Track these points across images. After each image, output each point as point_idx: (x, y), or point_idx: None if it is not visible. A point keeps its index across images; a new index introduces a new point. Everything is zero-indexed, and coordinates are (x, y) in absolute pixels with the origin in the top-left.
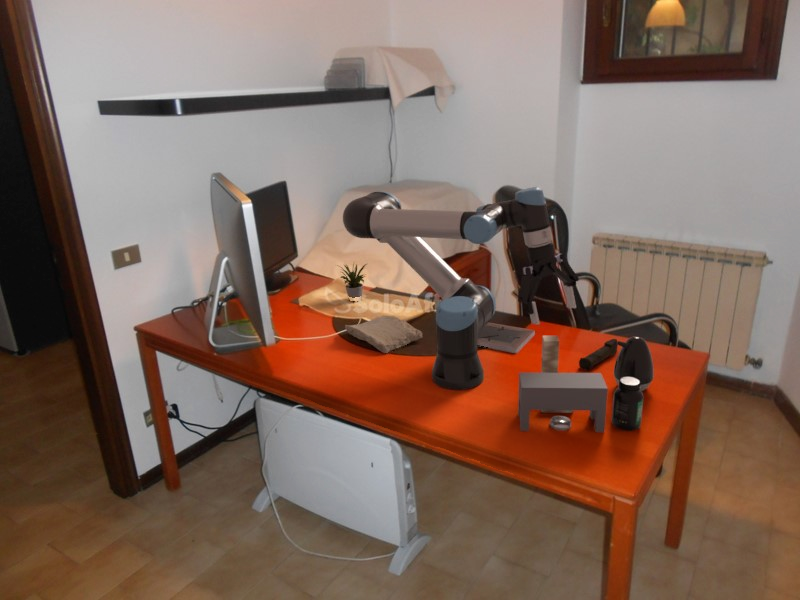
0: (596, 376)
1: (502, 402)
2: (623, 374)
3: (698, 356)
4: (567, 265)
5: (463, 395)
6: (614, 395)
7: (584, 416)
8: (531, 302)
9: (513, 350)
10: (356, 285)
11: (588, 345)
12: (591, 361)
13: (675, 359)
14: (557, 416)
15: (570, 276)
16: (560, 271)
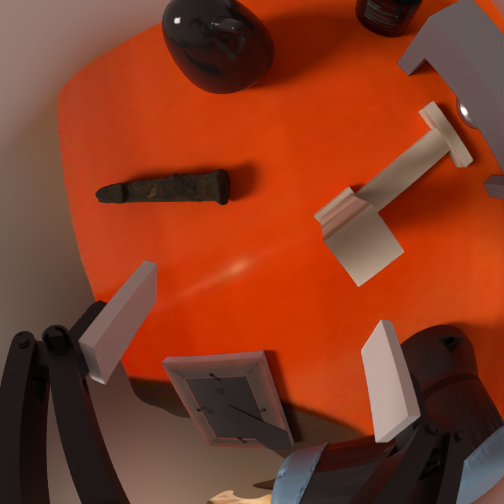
0: (451, 22)
1: (473, 247)
2: (270, 43)
3: (66, 87)
4: (5, 466)
5: (478, 319)
6: (420, 3)
7: (419, 82)
8: (426, 420)
9: (264, 359)
10: None
11: (127, 248)
12: (215, 171)
13: (87, 97)
14: (470, 119)
15: (36, 387)
16: (85, 495)
